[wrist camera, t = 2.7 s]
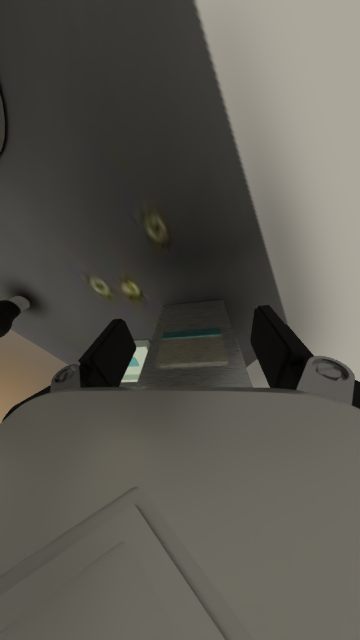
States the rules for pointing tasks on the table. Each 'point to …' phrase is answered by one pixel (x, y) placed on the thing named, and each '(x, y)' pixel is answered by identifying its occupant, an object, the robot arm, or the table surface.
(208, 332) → the unit
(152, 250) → the table surface
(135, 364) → the tray
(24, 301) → the light bulb
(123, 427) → the robot arm
